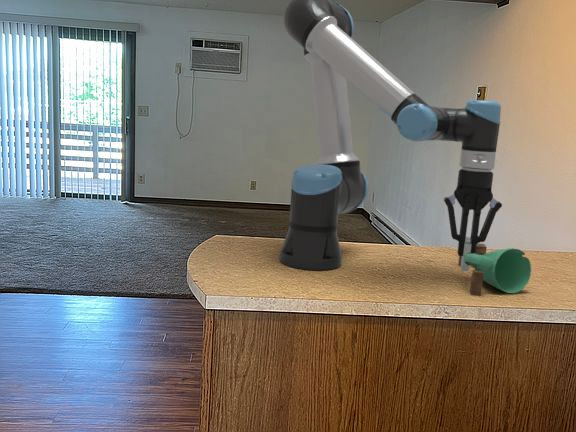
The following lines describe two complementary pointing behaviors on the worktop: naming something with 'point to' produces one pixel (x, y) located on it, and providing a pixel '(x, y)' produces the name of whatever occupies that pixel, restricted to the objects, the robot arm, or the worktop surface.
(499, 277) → the mug
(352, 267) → the worktop surface
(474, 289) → the brown blocks
